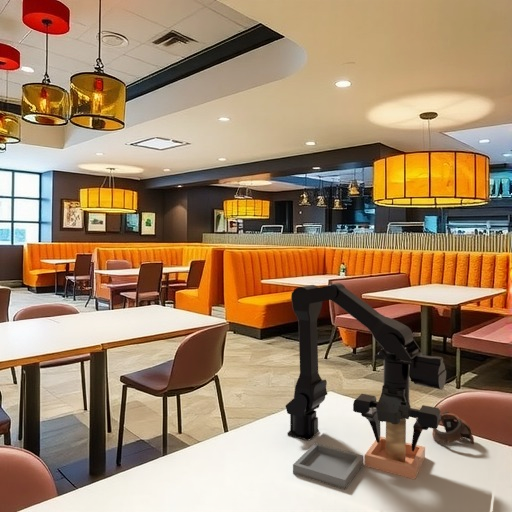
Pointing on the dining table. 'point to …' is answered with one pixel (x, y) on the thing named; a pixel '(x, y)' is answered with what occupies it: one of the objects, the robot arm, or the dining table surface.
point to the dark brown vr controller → (452, 429)
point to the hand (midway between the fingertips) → (395, 446)
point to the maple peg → (396, 441)
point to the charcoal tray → (328, 465)
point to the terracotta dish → (408, 469)
